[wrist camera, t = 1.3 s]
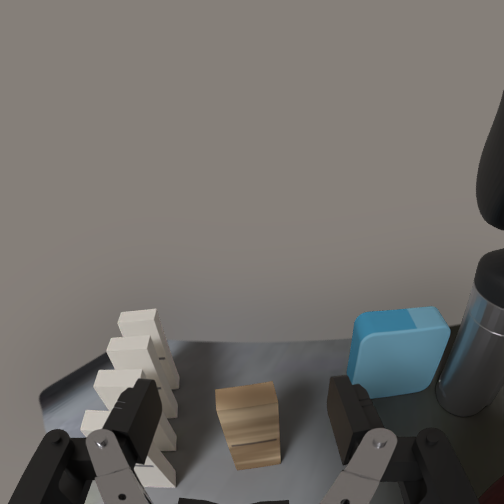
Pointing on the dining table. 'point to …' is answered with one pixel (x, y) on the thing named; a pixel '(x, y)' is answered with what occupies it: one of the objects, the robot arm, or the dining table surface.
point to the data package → (397, 350)
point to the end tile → (151, 325)
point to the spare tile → (250, 424)
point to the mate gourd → (494, 493)
